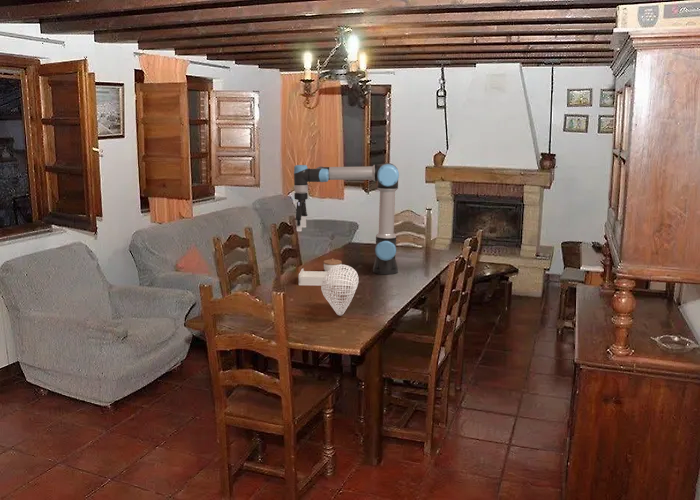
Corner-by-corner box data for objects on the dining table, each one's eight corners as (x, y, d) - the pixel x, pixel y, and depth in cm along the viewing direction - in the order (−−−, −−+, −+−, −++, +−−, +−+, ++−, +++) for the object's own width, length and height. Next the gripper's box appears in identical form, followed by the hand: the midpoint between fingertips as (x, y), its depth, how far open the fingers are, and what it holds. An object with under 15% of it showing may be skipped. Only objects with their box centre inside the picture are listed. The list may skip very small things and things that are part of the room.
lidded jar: (339, 276, 376) (339, 260, 375) (321, 275, 379) (321, 260, 377) (343, 272, 387) (343, 257, 385) (326, 271, 389) (325, 256, 387)
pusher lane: (356, 279, 370) (356, 269, 369) (355, 286, 355) (355, 275, 354) (302, 278, 371) (302, 268, 370) (298, 285, 357) (298, 274, 355)
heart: (328, 306, 316) (327, 261, 312) (359, 307, 315) (359, 262, 310) (319, 323, 289) (318, 275, 285) (353, 324, 287) (354, 276, 283)
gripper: (298, 190, 382) (299, 225, 386) (289, 194, 357) (290, 232, 362) (311, 190, 381) (311, 226, 385) (303, 194, 357) (303, 233, 361)
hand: (301, 229), depth 373 cm, fingers open, 13 cm apart
